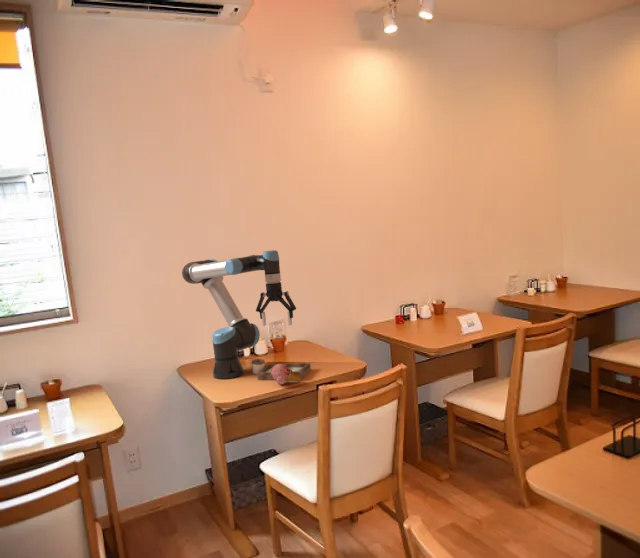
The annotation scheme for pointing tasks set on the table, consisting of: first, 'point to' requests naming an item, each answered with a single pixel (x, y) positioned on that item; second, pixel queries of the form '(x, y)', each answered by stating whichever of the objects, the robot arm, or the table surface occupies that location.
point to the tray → (297, 368)
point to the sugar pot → (257, 365)
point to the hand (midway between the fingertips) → (277, 325)
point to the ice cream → (284, 374)
